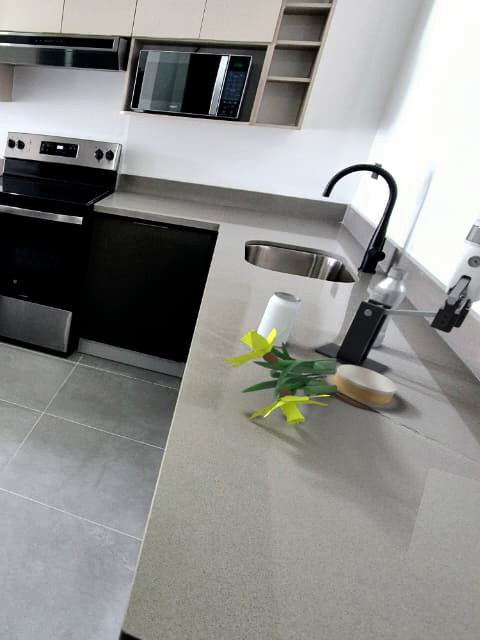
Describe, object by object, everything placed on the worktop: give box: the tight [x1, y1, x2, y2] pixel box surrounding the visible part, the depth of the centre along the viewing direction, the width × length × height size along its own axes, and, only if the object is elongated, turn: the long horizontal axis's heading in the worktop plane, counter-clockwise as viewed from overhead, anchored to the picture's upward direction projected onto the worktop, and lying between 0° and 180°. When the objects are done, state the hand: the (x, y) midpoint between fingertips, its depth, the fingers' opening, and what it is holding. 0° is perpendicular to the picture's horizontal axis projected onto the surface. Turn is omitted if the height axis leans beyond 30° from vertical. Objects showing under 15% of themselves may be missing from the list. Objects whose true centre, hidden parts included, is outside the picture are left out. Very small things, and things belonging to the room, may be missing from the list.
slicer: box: [314, 298, 392, 374], centre depth 112 cm, size 12×9×15 cm
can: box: [256, 291, 302, 348], centre depth 117 cm, size 6×6×12 cm
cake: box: [330, 364, 398, 414], centre depth 101 cm, size 14×14×4 cm
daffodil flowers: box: [222, 318, 338, 426], centre depth 89 cm, size 17×15×35 cm
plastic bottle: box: [370, 266, 410, 349], centre depth 122 cm, size 6×7×20 cm
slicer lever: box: [377, 305, 461, 318], centre depth 104 cm, size 15×6×2 cm, turn 36°
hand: (445, 326), depth 100 cm, fingers closed on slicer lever, 5 cm apart
